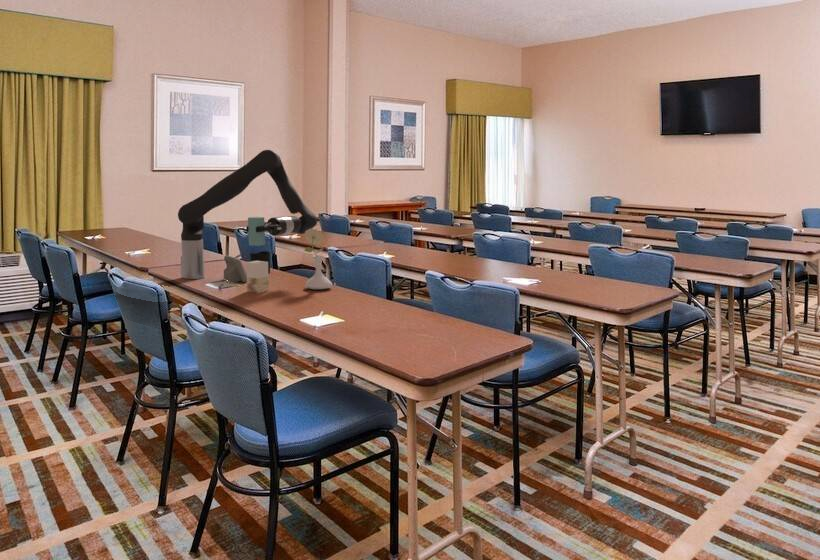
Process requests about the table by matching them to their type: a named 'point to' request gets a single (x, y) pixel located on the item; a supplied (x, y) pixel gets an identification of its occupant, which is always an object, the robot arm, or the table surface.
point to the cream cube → (257, 269)
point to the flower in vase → (316, 262)
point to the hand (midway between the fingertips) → (251, 229)
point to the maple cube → (258, 284)
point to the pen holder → (261, 257)
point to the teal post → (254, 236)
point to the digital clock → (234, 270)
